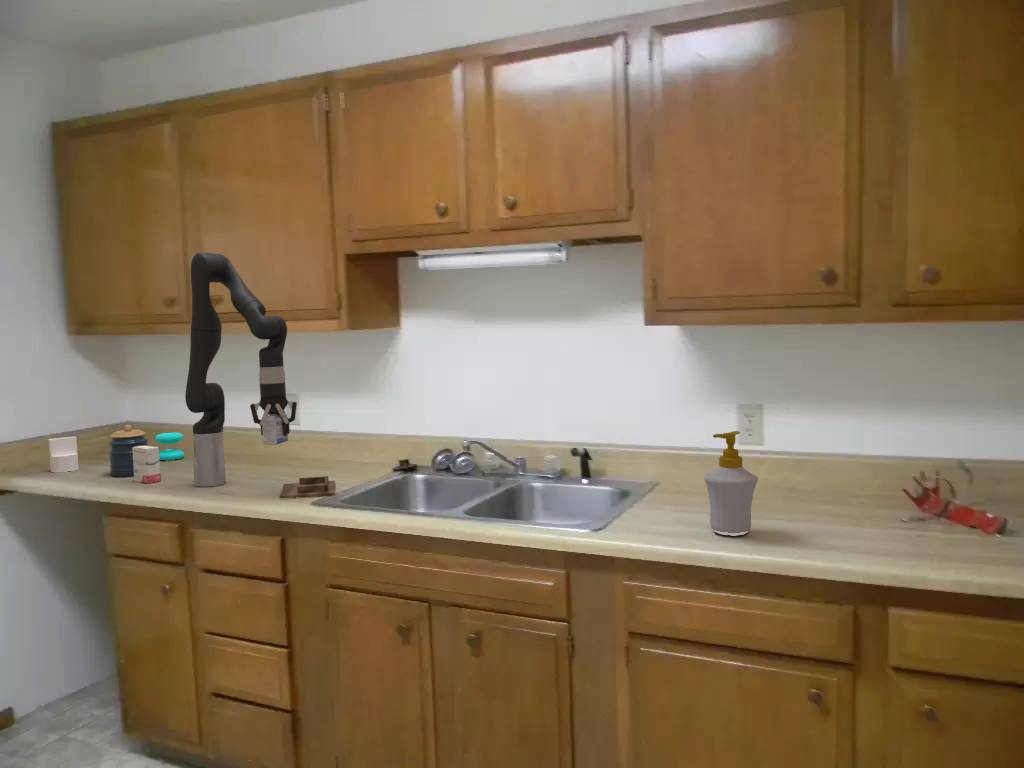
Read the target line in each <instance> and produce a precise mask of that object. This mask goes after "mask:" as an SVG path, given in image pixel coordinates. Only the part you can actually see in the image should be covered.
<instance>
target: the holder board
mask: <svg viewBox="0 0 1024 768" xmlns="http://www.w3.org/2000/svg"><path fill="white" fill-rule="evenodd" d="M335 493H336V481H335V480H329V476H328V475H326V476H311V477H310V476H308V477H299V478H298V482H294V483H292V482H291V483H283V485H282V488H281V492H280V494H279V499H280V498H292V499H297V498H296V497H307V498H319V497H320V498H322V497H333V496H332V495H335V496H336V494H335Z"/></svg>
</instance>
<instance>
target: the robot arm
mask: <svg viewBox="0 0 1024 768" xmlns="http://www.w3.org/2000/svg"><path fill="white" fill-rule="evenodd" d="M210 283H216V284H217V283H220V284H222V285H223V286H224V287H226V289H228V291H229V292H230V294H229V295H230V301H231V303H232V306H233V308H235V310H236V311H237V312H238V313H239V314H240V315H241V317H242V318H244V319H245V321H246V325H247V326H248V328H249V330H250V332H251V334H252V335H253V337H255V338H257V339H259V340H263V341H265V340H268V343H267V346H264V347H262V348H260V350H259V352H258V358H259V359H258V362H259V372H258V373H259V374H258V376H259V377H258V380H259V381H258V382H259V393H260V396H259V397H260V399H259V402H256V403H251V404H250V411H251V417H252V420H253V423H254V424H256V425H257V424H258V425H259V426H260V434H261V436H263V430H262V418H261V419H259V415H258V410H259V407H260V408H261V409H262V411H263V414H262V417H265V416H269V415H273V414H276V415H278V414H280V415H281V417H282V418H283V420H284V422H285V424H284V430H285V436H287V435H288V436H289V434H290V432H291V431H290V430H291V429H290V423H292V422H294V421H295V420H296V413H297V405H298V403H297V401H296V400H295V401H289V400H288V398H287V393H286V392H287V391H286V374H285V373H286V372H285V369H284V368H285V367H284V349H285V344H286V340H287V336H288V334H287V333H288V326H287V323H286V320H285V319H284V318H283V317H282V316H279V315H266V313H267V310H266V309H267V308H266V306H265V305H264V304H263V303H262V301H260V300H259V298H258V297H256V295H255V294H254V293H253V292H252V291H251V290H250V289H249V288H248V286H247V285H246V284H245V282H244V281H243V279H242V277H241V276H240V275H239V273H238V271H237V270H236V269H235V267H234V266H233V264H232V262H231V261H230V260H229V258H228V257H226V256H225V255H224V254H221V253H214V252H213V253H212V252H197V253H195V254H194V255H193V257H192V259H191V263H190V285H191V325H190V347H189V349H190V350H189V352H190V353H189V364H188V374H187V378H186V379H187V380H186V386H185V404H186V407H187V409H188V410H189V411H190V412H191V413H194V414H200V413H203V414H202V417H201V418H200V419H199V420H198V421H196V422H195V423H194V424H193V425H192V439H193V440H192V441H193V455H194V456H193V457H192V460H193V461H192V462H193V463H192V465H193V481H194V487H203V488H205V487H207V488H208V487H215V486H221V485H224V484H226V467H225V465H226V463H225V445H224V444H225V443H224V425H225V421H226V420H225V419H226V417H225V415H226V414H225V410H226V406H225V405H226V404H225V400H226V399H225V398H226V397H225V393H224V390H223V388H222V386H221V385H220V384H219V383H216V382H207V376H208V371H209V368H210V366H211V364H212V362H214V361H213V360H214V359H215V357H216V356H217V354H218V351H219V350H220V348H221V345H222V344H221V343H222V326H223V325H222V322H221V319H220V317H219V314H218V312H217V310H216V308H215V307H214V305H213V302H212V300H211V292H210V286H211V285H210ZM287 405H288V406H289V409H291V414H290V417H288V415H286V414H287V413H286V411H285V409H286V407H287Z"/></svg>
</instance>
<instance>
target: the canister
mask: <svg viewBox="0 0 1024 768" xmlns="http://www.w3.org/2000/svg"><path fill="white" fill-rule="evenodd" d="M146 434H147V432H145V431H142V429H133V427H132V425H131V424H125V425H124V427H123V430H117V431H115V432H114V433H113V434H111V435H110V437H111V440H109V441H108V444H109V446H110V448H109V451H108V453H109V463H110V465H109V466H110V469H109V471H110V475H111V476H112V477H115V478H128V477H129V478H130V477H131V478H132V477H134V466H133V451H132V448H133V447H137V446H149V445H148V443H149V441H150V439H149V438H147V437H146V436H145V435H146Z"/></svg>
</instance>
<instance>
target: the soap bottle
mask: <svg viewBox="0 0 1024 768" xmlns="http://www.w3.org/2000/svg"><path fill="white" fill-rule="evenodd" d="M739 434H741V432H740V431H739V430H734V431H730V432H723V433H715V434H713V435H712V437H713V438H719V439H724V440H725V443H726V445H727V448H725V449H723V451H722V455H720V456H719V457H718V467H716V468H714V469H713V470H712V471H708V472H706V473H705V474H704V475H703V479H704V482H705V485H706V489H707V494H708V500H709V505H710V506H709V515H710V517H709V525H710V528H712V529H713V530H716V531H720V532H728V533H740V532H746V531H749V532H750V530H751V527H752V503H753V497H754V494H755V493H754V492H755V490H756V485H757V483H758V481H759V477H758V476H757V475H756V474H754V473H752V472H750V471H748V470H747V469H746V468H744V467H743V457H742V456H739V450H738V449H737V448H735V447H734V446H735V444H736V435H739ZM712 529H711V530H712ZM713 530H712V531H713Z"/></svg>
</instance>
